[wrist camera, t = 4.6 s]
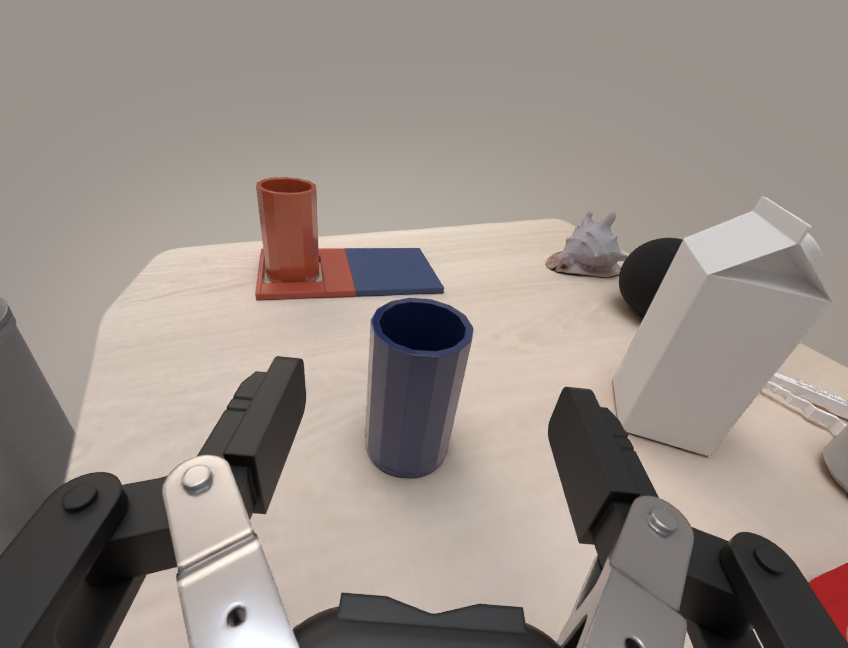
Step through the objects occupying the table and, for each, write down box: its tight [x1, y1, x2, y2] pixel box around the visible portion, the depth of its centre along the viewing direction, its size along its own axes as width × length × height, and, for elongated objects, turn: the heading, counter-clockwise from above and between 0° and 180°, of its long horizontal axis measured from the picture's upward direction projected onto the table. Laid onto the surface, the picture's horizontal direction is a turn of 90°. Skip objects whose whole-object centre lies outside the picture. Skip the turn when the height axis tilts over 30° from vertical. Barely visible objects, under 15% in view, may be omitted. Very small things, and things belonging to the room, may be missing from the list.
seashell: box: [546, 211, 628, 277], centre depth 60 cm, size 10×12×9 cm
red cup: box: [256, 177, 319, 283], centre depth 47 cm, size 6×6×11 cm
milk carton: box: [613, 196, 831, 456], centre depth 31 cm, size 7×7×19 cm
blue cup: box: [365, 298, 473, 478], centre depth 28 cm, size 6×6×11 cm
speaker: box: [619, 238, 683, 316], centre depth 50 cm, size 10×10×10 cm
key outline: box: [764, 373, 848, 436], centre depth 38 cm, size 13×5×2 cm, turn 51°
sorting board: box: [255, 248, 444, 300], centre depth 52 cm, size 22×12×1 cm, turn 105°
